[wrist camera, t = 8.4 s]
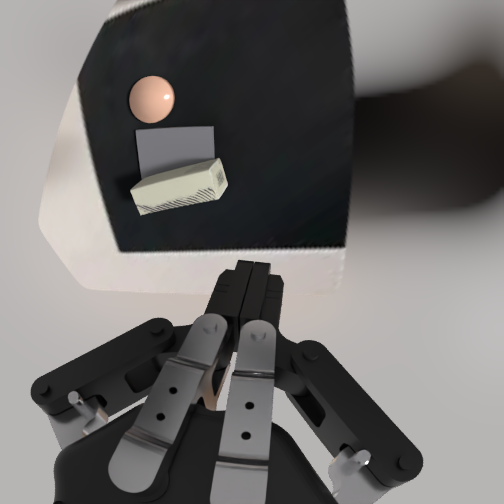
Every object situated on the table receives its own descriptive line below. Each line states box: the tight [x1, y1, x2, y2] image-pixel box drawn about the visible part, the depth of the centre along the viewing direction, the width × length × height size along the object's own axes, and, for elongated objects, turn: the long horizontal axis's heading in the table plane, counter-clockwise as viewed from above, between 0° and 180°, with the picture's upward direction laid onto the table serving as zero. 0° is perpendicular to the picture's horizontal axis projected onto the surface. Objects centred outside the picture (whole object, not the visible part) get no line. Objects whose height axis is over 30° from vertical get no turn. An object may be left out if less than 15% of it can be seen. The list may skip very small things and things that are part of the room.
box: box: [130, 158, 228, 215], centre depth 41 cm, size 5×4×13 cm
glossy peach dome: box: [129, 76, 175, 123], centre depth 36 cm, size 7×7×1 cm
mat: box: [136, 126, 215, 180], centre depth 42 cm, size 11×12×1 cm
